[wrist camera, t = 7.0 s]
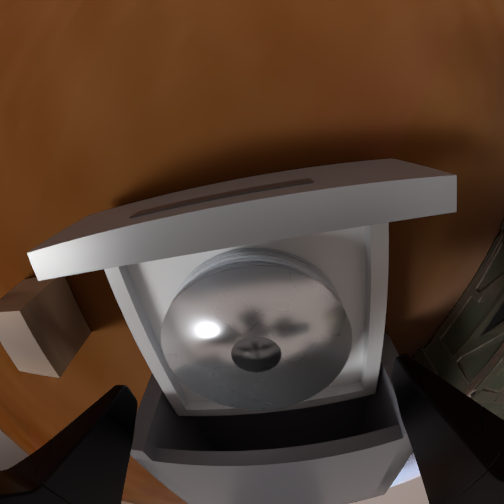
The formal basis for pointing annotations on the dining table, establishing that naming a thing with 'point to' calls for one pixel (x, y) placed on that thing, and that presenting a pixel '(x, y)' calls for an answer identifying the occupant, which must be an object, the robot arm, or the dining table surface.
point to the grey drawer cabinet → (277, 449)
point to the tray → (257, 236)
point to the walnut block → (42, 326)
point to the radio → (474, 337)
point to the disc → (256, 330)
